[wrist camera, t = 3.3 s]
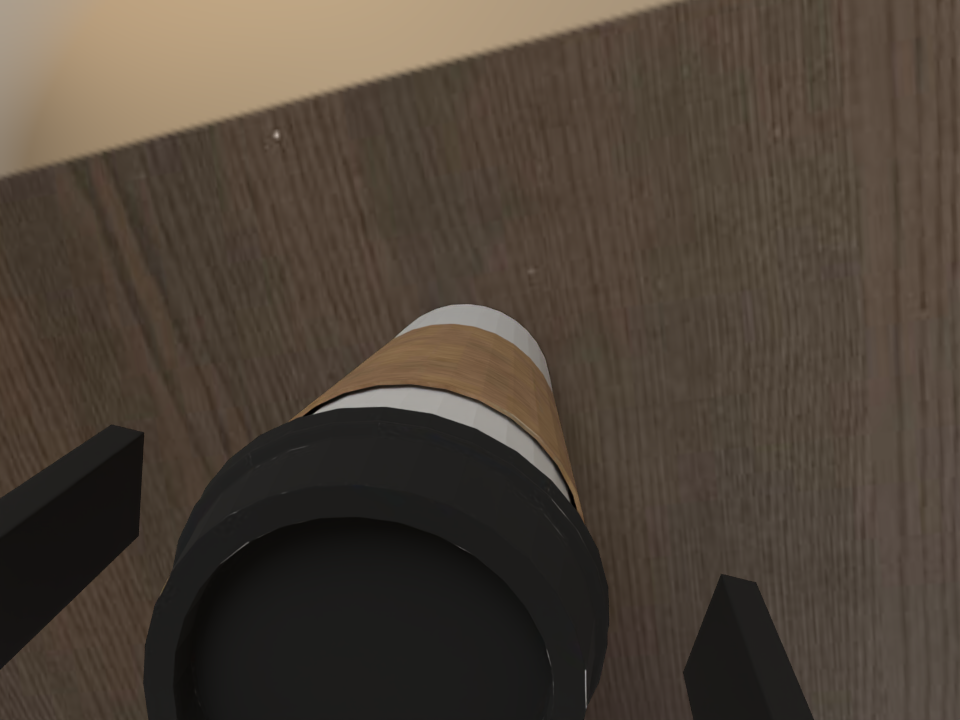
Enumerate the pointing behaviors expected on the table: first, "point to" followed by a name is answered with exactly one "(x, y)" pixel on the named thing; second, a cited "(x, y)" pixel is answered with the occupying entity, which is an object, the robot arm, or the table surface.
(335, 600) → the coffee cup
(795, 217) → the table surface
